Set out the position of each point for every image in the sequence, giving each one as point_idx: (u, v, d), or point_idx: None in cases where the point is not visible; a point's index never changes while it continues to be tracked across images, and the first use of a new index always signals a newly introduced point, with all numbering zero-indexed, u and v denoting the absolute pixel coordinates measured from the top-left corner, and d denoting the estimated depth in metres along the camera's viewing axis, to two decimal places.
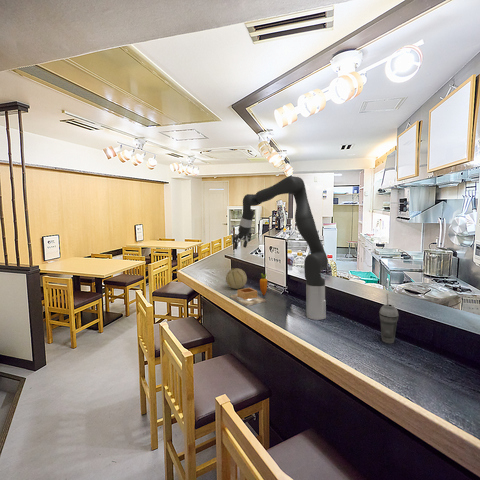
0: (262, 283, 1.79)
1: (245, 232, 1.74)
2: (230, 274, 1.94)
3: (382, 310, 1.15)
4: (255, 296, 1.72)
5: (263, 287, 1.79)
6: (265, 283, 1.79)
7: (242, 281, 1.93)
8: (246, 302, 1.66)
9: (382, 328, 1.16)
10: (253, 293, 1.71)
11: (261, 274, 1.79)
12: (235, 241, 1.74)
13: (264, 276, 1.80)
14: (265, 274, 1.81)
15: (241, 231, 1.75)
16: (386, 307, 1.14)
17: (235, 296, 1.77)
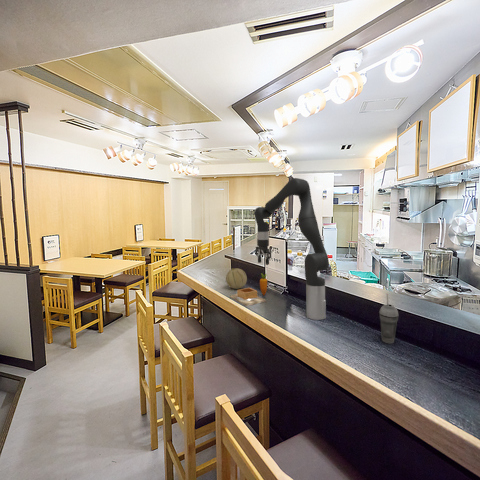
0: (262, 283, 1.79)
1: (268, 244, 1.78)
2: (230, 274, 1.94)
3: (382, 310, 1.15)
4: (255, 296, 1.72)
5: (263, 287, 1.79)
6: (265, 283, 1.79)
7: (242, 281, 1.93)
8: (246, 302, 1.66)
9: (382, 328, 1.16)
10: (253, 293, 1.71)
11: (261, 274, 1.79)
12: None
13: (264, 276, 1.81)
14: (265, 274, 1.81)
15: (267, 244, 1.75)
16: (386, 307, 1.14)
17: (235, 296, 1.77)
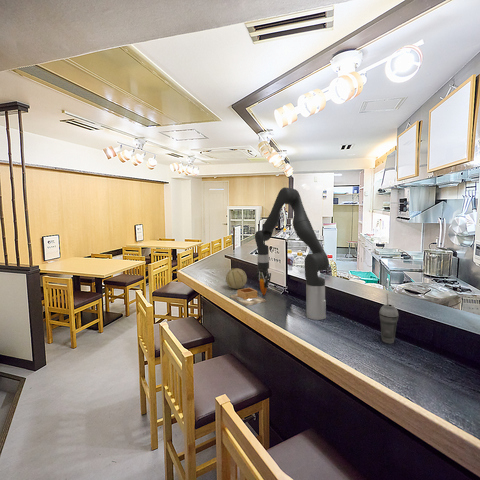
0: (262, 283, 1.79)
1: None
2: (230, 274, 1.94)
3: (382, 310, 1.15)
4: (255, 296, 1.72)
5: (263, 287, 1.79)
6: None
7: (242, 281, 1.93)
8: (246, 302, 1.66)
9: (382, 328, 1.16)
10: (253, 293, 1.71)
11: (261, 274, 1.79)
12: None
13: None
14: None
15: (267, 267, 1.77)
16: (386, 307, 1.14)
17: (235, 296, 1.77)
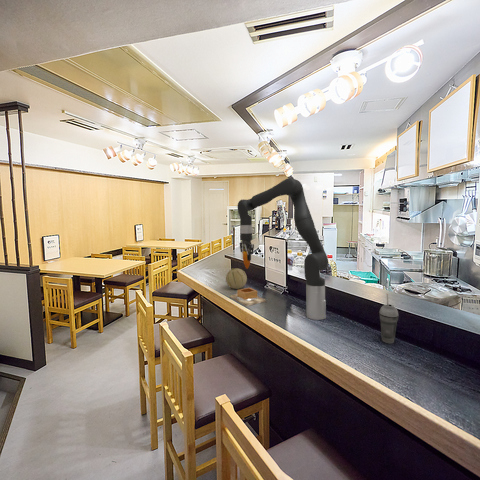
0: (245, 255, 1.70)
1: (252, 238, 1.71)
2: (230, 274, 1.94)
3: (382, 310, 1.15)
4: (255, 296, 1.72)
5: (246, 260, 1.70)
6: None
7: (242, 281, 1.93)
8: (246, 302, 1.66)
9: (382, 328, 1.16)
10: (253, 293, 1.71)
11: (244, 246, 1.70)
12: None
13: None
14: None
15: (250, 238, 1.68)
16: (386, 307, 1.14)
17: (235, 296, 1.77)
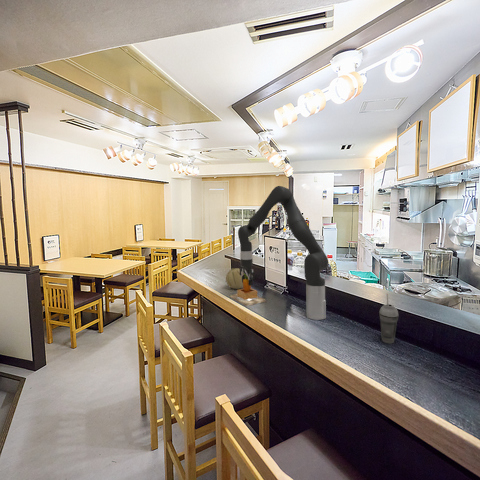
0: (245, 284, 1.72)
1: (252, 263, 1.72)
2: (230, 274, 1.94)
3: (382, 310, 1.15)
4: (255, 296, 1.72)
5: (246, 288, 1.72)
6: (248, 283, 1.72)
7: None
8: (246, 302, 1.66)
9: (382, 328, 1.16)
10: (253, 293, 1.71)
11: (244, 274, 1.72)
12: None
13: None
14: None
15: (251, 264, 1.70)
16: (386, 307, 1.14)
17: (235, 296, 1.77)
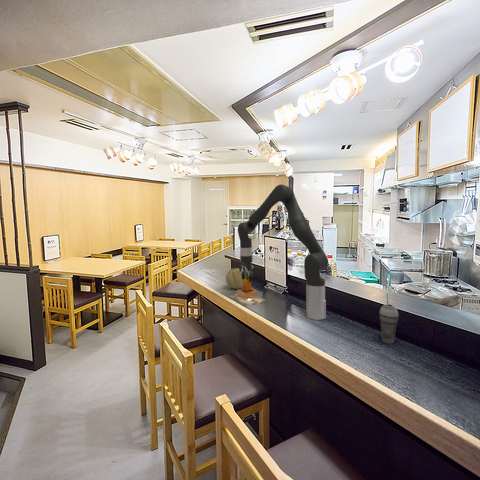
0: (246, 283, 1.72)
1: None
2: (230, 274, 1.94)
3: (382, 310, 1.15)
4: (255, 296, 1.72)
5: (247, 288, 1.72)
6: (249, 283, 1.72)
7: (242, 281, 1.93)
8: (246, 302, 1.66)
9: (382, 328, 1.16)
10: (253, 293, 1.71)
11: (245, 274, 1.72)
12: (254, 272, 1.67)
13: None
14: None
15: (250, 261, 1.70)
16: (386, 307, 1.14)
17: (235, 296, 1.77)
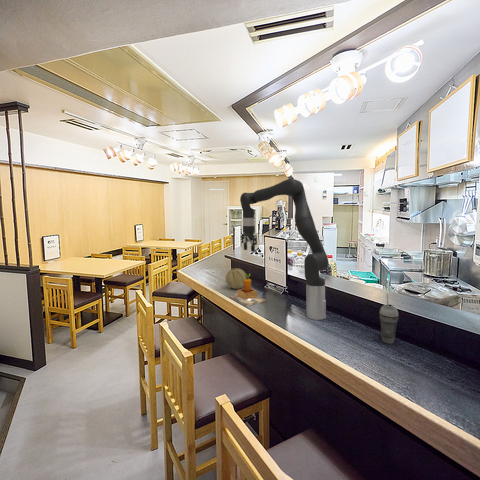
0: (246, 283, 1.72)
1: (254, 230, 1.75)
2: (230, 274, 1.94)
3: (382, 310, 1.15)
4: (255, 296, 1.72)
5: (247, 288, 1.72)
6: (249, 283, 1.72)
7: (242, 281, 1.93)
8: (246, 302, 1.66)
9: (382, 328, 1.16)
10: (253, 293, 1.71)
11: (245, 274, 1.72)
12: (256, 242, 1.70)
13: None
14: (249, 274, 1.74)
15: (253, 231, 1.72)
16: (386, 307, 1.14)
17: (235, 296, 1.77)
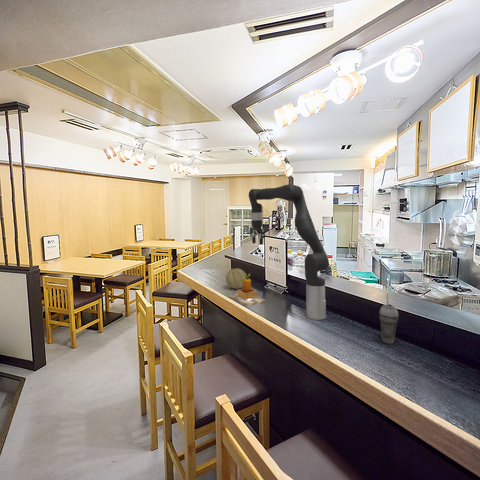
0: (245, 284, 1.72)
1: (262, 224, 1.85)
2: (230, 274, 1.94)
3: (382, 310, 1.15)
4: (255, 296, 1.72)
5: (246, 288, 1.72)
6: (248, 283, 1.72)
7: (242, 281, 1.93)
8: (246, 302, 1.66)
9: (382, 328, 1.16)
10: (253, 293, 1.71)
11: None
12: (264, 235, 1.80)
13: None
14: (249, 274, 1.74)
15: (261, 225, 1.82)
16: (386, 307, 1.14)
17: (235, 296, 1.77)
